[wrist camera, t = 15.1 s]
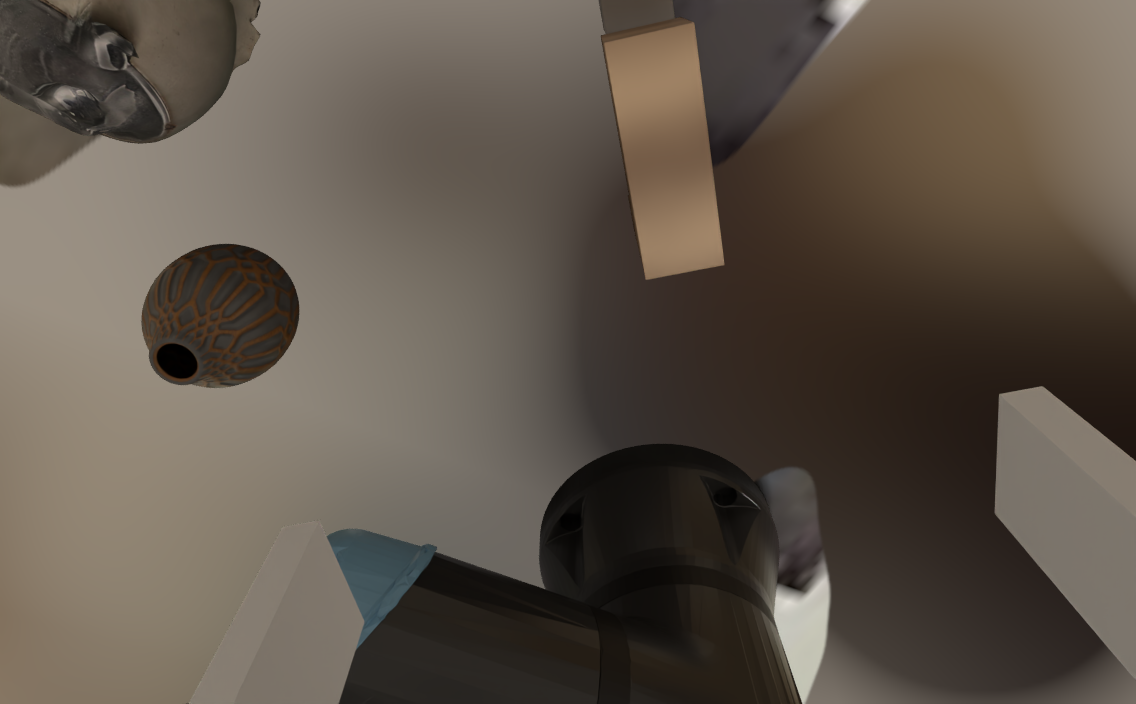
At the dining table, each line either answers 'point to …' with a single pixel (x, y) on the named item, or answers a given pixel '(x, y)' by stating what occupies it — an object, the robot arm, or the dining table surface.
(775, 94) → the dining table surface
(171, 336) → the vase
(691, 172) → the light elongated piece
